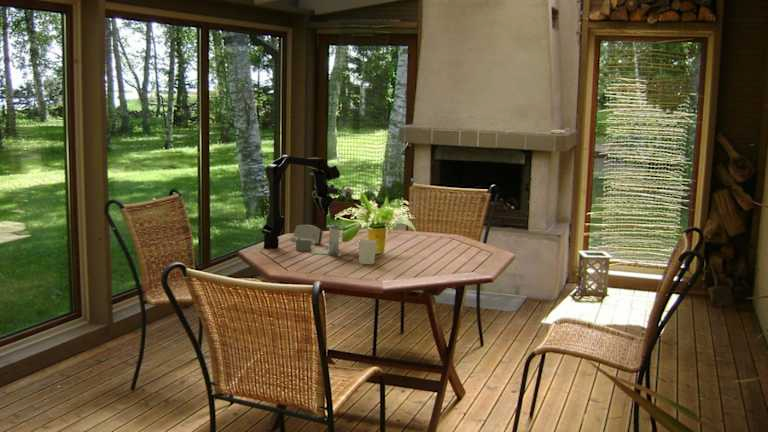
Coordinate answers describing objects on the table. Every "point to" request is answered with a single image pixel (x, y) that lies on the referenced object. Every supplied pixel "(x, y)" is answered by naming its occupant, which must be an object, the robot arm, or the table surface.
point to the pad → (319, 252)
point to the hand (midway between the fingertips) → (324, 213)
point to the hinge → (308, 234)
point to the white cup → (367, 251)
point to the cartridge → (334, 240)
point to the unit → (303, 244)
